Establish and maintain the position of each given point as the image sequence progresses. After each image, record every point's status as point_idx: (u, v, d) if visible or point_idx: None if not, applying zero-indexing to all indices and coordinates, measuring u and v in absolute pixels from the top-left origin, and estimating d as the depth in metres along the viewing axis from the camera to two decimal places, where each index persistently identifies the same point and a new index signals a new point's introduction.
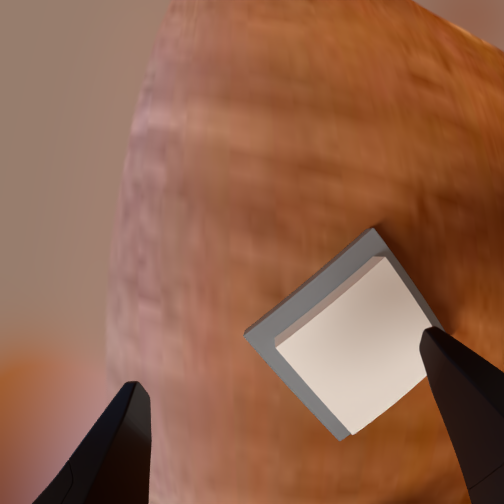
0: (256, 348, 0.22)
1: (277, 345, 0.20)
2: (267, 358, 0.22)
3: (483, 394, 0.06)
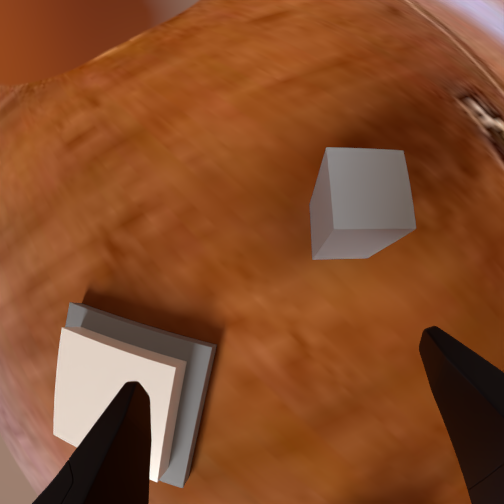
0: None
1: None
2: None
3: (483, 394, 0.06)
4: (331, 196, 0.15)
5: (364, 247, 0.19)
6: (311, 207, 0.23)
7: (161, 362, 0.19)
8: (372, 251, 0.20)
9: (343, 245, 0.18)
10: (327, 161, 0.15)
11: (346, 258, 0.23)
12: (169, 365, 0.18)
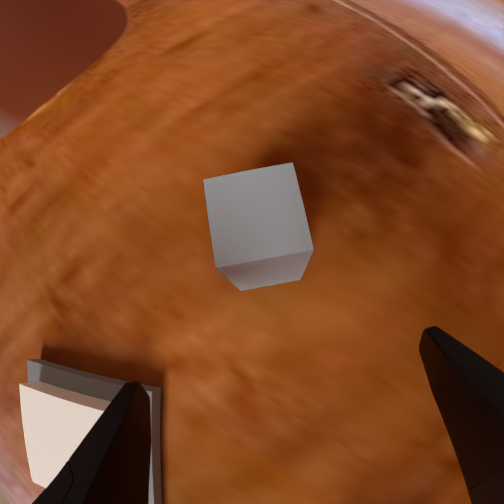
0: None
1: None
2: None
3: (483, 394, 0.06)
4: (211, 232, 0.14)
5: (280, 273, 0.18)
6: None
7: (102, 409, 0.17)
8: (295, 274, 0.19)
9: (252, 276, 0.17)
10: None
11: None
12: None
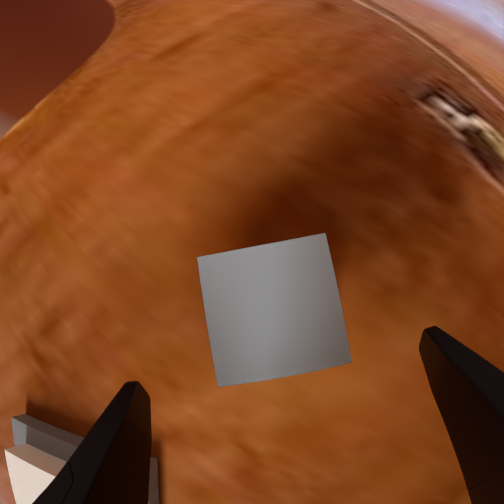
0: None
1: None
2: None
3: (483, 394, 0.06)
4: (210, 337, 0.10)
5: None
6: None
7: None
8: None
9: None
10: (201, 279, 0.10)
11: None
12: None
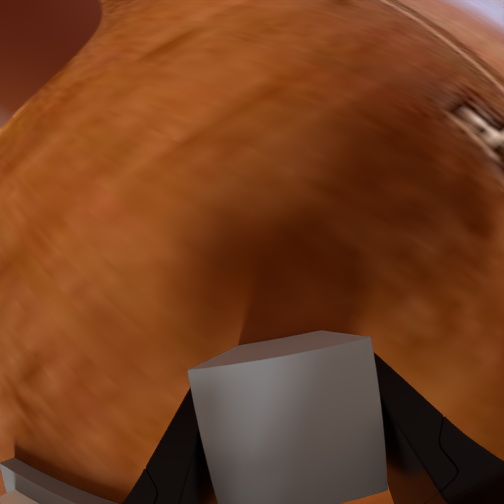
0: None
1: None
2: None
3: (401, 428, 0.06)
4: (210, 468, 0.06)
5: None
6: None
7: None
8: None
9: None
10: None
11: None
12: None
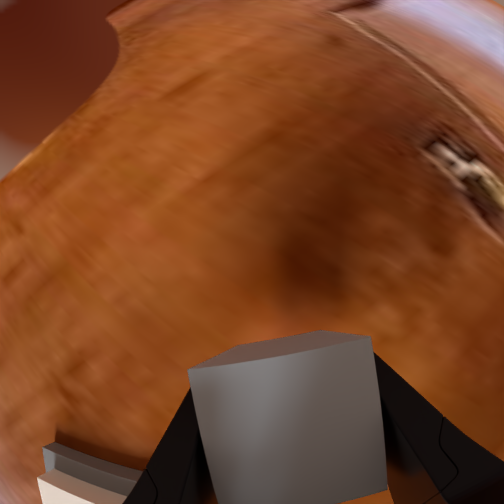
0: None
1: None
2: None
3: (401, 428, 0.06)
4: (210, 467, 0.06)
5: None
6: None
7: None
8: None
9: None
10: None
11: None
12: None
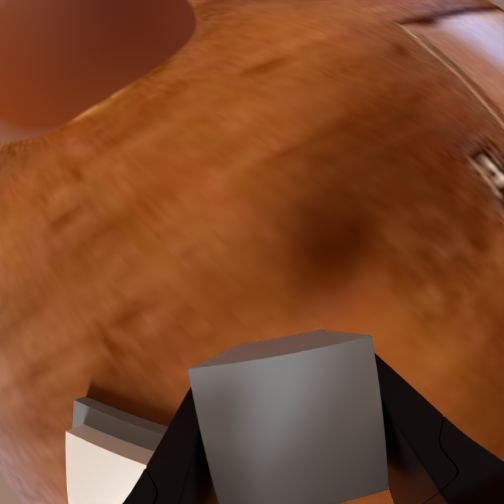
0: None
1: None
2: None
3: (401, 428, 0.06)
4: (210, 467, 0.06)
5: None
6: None
7: None
8: None
9: None
10: None
11: None
12: None
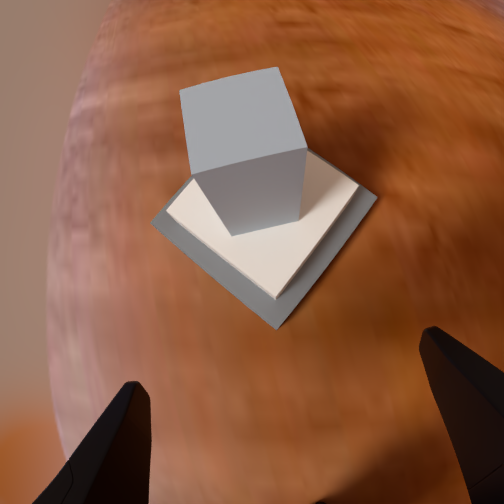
0: (162, 231, 0.23)
1: None
2: (173, 239, 0.23)
3: (483, 394, 0.06)
4: (187, 138, 0.11)
5: (273, 201, 0.15)
6: None
7: None
8: (291, 207, 0.17)
9: (240, 203, 0.15)
10: None
11: (271, 226, 0.20)
12: (352, 181, 0.20)
